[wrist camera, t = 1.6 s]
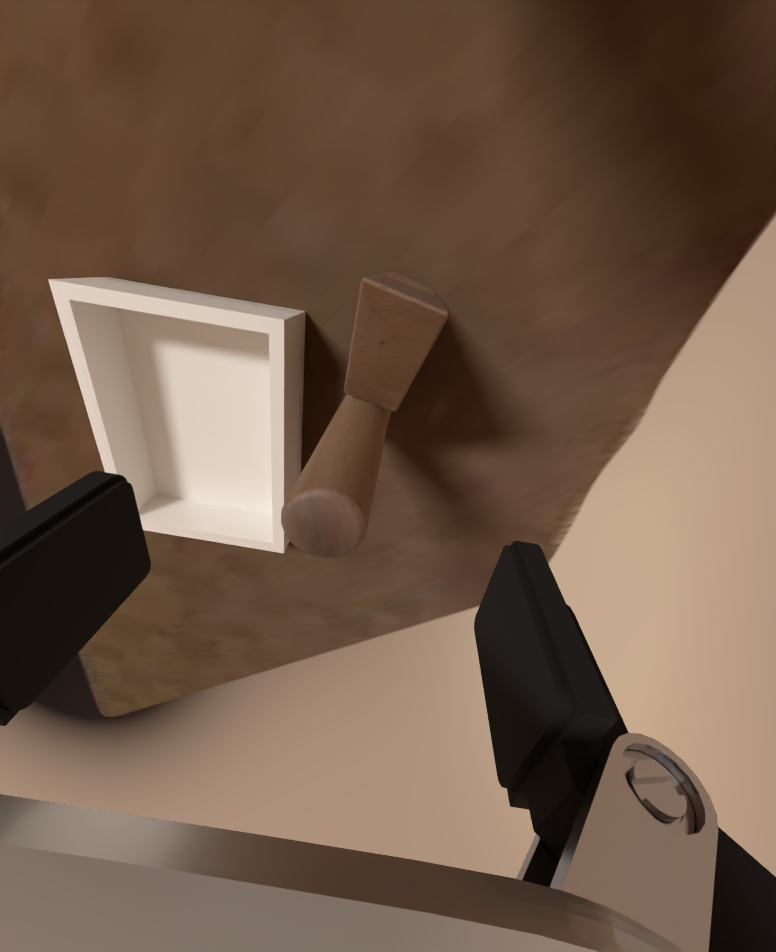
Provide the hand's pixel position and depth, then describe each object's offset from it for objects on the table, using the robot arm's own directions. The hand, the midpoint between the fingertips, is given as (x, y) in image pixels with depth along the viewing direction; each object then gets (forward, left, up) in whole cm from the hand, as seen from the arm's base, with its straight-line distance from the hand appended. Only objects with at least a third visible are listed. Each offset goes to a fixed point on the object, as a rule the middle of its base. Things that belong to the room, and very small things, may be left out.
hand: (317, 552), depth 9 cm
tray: (+8, -14, -22) cm, 27 cm away
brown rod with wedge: (0, 0, -23) cm, 23 cm away
